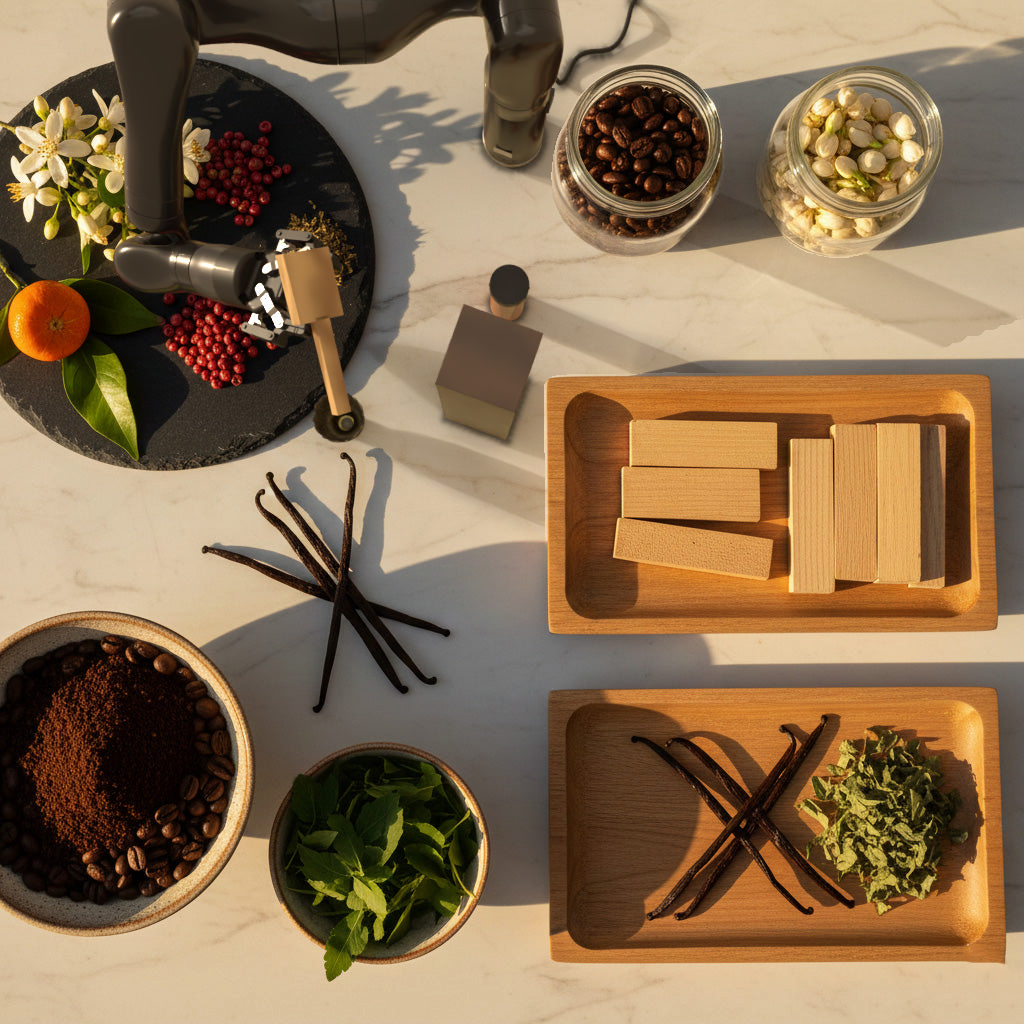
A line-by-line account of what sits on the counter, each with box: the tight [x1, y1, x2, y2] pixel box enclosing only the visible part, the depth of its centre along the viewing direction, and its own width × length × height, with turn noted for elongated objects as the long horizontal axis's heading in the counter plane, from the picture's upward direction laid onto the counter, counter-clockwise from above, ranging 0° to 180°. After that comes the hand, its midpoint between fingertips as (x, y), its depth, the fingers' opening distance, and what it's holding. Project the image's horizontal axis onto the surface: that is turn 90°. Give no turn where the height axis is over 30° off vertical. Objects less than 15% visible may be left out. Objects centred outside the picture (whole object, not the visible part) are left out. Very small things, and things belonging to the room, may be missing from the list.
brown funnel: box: [311, 392, 366, 444], centre depth 120 cm, size 8×7×8 cm
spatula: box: [275, 246, 351, 416], centre depth 96 cm, size 6×20×2 cm
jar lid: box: [488, 263, 531, 308], centre depth 115 cm, size 6×6×2 cm
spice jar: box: [489, 295, 526, 322], centre depth 120 cm, size 5×5×10 cm
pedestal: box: [434, 303, 544, 441], centre depth 109 cm, size 10×10×31 cm
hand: (325, 296), depth 96 cm, fingers closed on spatula, 8 cm apart
